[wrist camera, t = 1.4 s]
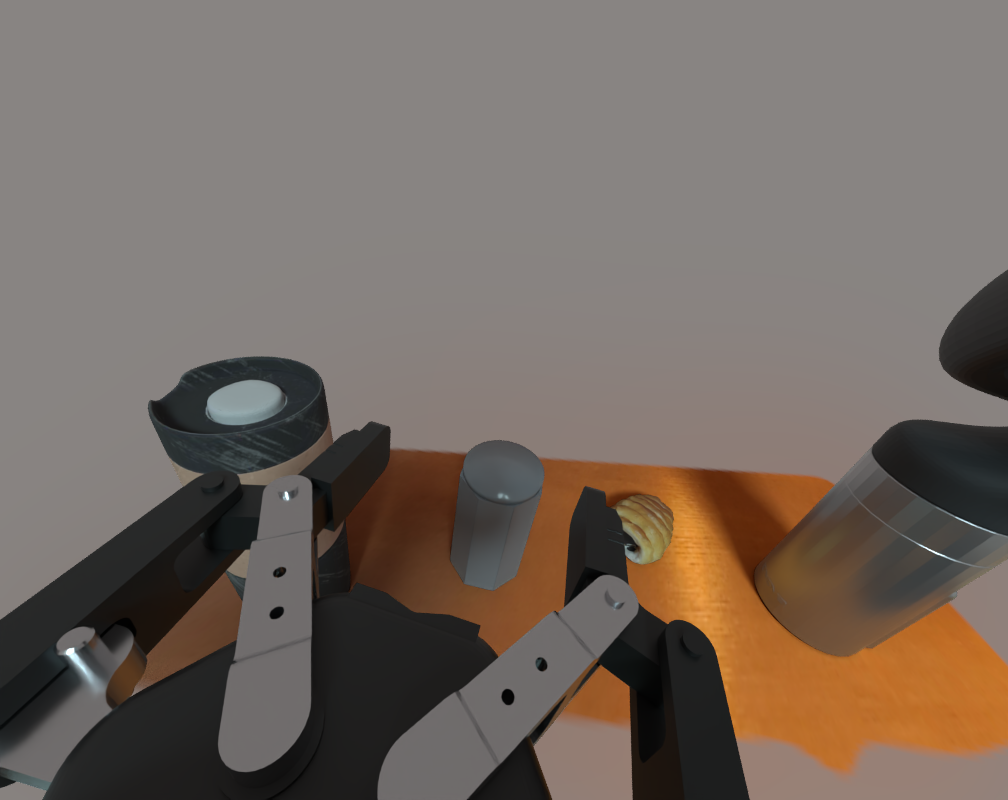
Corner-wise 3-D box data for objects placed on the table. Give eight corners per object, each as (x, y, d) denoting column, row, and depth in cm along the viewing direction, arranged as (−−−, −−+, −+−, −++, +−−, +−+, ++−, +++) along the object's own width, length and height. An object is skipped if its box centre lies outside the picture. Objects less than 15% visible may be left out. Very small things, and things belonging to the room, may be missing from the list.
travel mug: (372, 590, 30) (353, 397, 19) (276, 668, 25) (174, 463, 14) (325, 534, 34) (286, 343, 23) (232, 592, 29) (123, 380, 18)
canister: (521, 535, 37) (546, 449, 31) (513, 595, 32) (541, 508, 25) (462, 521, 37) (474, 433, 31) (444, 578, 32) (453, 487, 26)
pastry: (632, 493, 45) (643, 471, 43) (683, 530, 41) (698, 508, 39) (590, 531, 39) (601, 509, 37) (645, 579, 35) (660, 557, 33)
